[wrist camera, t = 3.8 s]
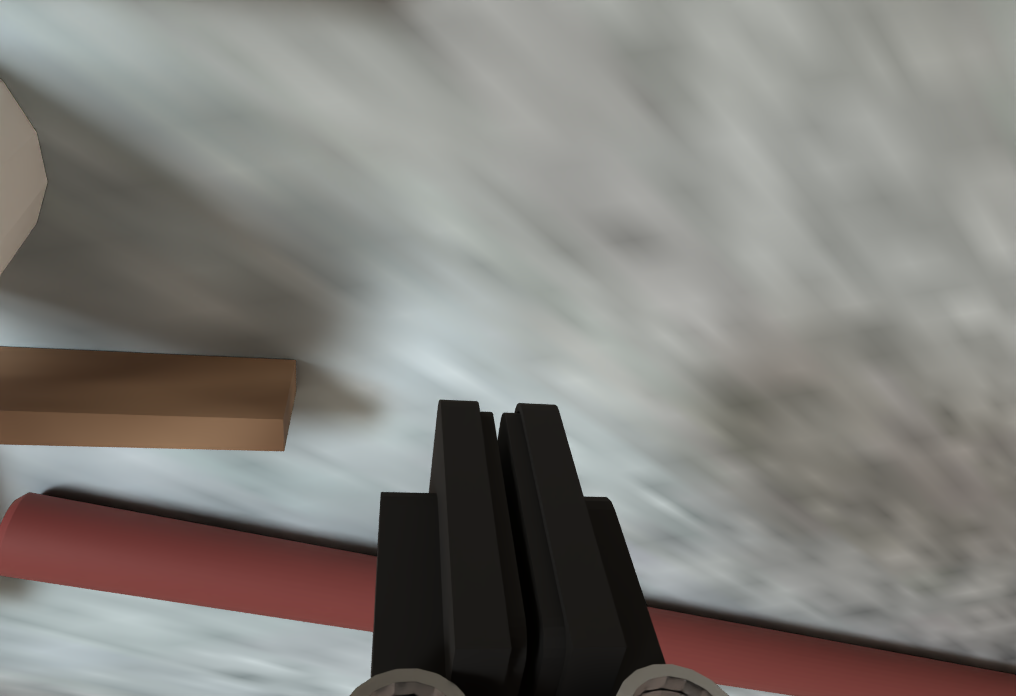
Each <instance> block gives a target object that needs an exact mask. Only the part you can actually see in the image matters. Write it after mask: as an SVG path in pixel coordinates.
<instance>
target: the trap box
mask: <svg viewBox="0 0 1016 696" xmlns="http://www.w3.org/2000/svg"><path fill="white" fill-rule="evenodd" d="M295 395H296V360H285V359H263V358H241V357H219V356H197V355H175V354H153V353H131V352H109V351H87V350H65V349H43V348H21V347H0V444H8V445H49V446H90V447H131V448H172V449H213V450H254V451H284V450H285V445H286V440H287V435H288V430H289V425H290V420H291V415H292V410H293V405H294V400H295Z"/></svg>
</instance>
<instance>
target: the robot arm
mask: <svg viewBox="0 0 1016 696" xmlns="http://www.w3.org/2000/svg"><path fill="white" fill-rule="evenodd" d="M350 696H729V695H728V694H727V693H726V692H724V691H723V690H722V689H721V688H720V687H719V686H718V685H716V684H715V683H714V682H713V681H712V680H710V679H709V678H707V677H705V676H703V675H701V674H699V673H697V672H696V671H694V670H692V669H688V668H684V667H681V666H677V665H673V664H666V663H665V660H664V657H663V654H662V650H661V647H660V644H659V641H658V638H657V635H656V632H655V629H654V626H653V623H652V620H651V617H650V614H649V611H648V608H647V605H646V602H645V599H644V596H643V593H642V590H641V587H640V584H639V581H638V578H637V575H636V572H635V569H634V566H633V563H632V560H631V557H630V554H629V551H628V548H627V545H626V542H625V539H624V536H623V533H622V530H621V527H620V524H619V521H618V518H617V515H616V512H615V509H614V507H613V505H612V502H611V501H610V500H609V499H608V498H607V497H584V496H583V493H582V489H581V486H580V482H579V479H578V475H577V472H576V468H575V465H574V461H573V458H572V454H571V451H570V448H569V444H568V441H567V437H566V434H565V430H564V427H563V423H562V420H561V416H560V413H559V410H558V407H557V406H556V405H549V404H527V403H518V404H517V406H516V409H515V413H503V414H502V417H501V422H500V428H499V434H498V440H497V435H496V429H495V423H494V417H493V413H492V412H480V408H479V403H478V402H477V401H458V400H439V404H438V411H437V420H436V430H435V439H434V449H433V458H432V468H431V477H430V487H429V493H400V492H381V499H380V515H379V532H378V549H377V567H376V586H375V605H374V625H373V644H372V664H371V678H370V679H369V680H367V681H366V682H364V683H363V684H361V685H360V686H358V687H357V688H356V689H355V690H354V691H353V692H352V694H351V695H350Z"/></svg>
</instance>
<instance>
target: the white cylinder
mask: <svg viewBox="0 0 1016 696" xmlns="http://www.w3.org/2000/svg"><path fill="white" fill-rule="evenodd" d="M46 186H47V177H46V172H45V168H44V163H43V159H42V154H41V150H40V145H39V141H38V136H37V132H36V131H35V129H34V128H33V126H32V125H31V123H30V122H29V120H28V119H27V117H26V116H25V114H24V112H23V111H22V109H21V108H20V106H19V105H18V103H17V102H16V100H15V99H14V97H13V96H12V94H11V92H10V91H9V89H8V88H7V86H6V85H5V83H4V82H3V81H2V80H1V79H0V275H1V274H2V272H3V271H4V270H5V268H6V267H7V265H8V264H9V262H10V261H11V259H12V258H13V257H14V255H15V254H16V252H17V251H18V249H19V248H20V246H21V245H22V244H23V242H24V241H25V239H26V238H27V236H28V235H29V234H30V232H31V231H32V229H33V228H34V226H35V225H36V223H37V220H38V217H39V213H40V209H41V205H42V201H43V198H44V194H45V190H46Z"/></svg>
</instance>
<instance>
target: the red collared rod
mask: <svg viewBox="0 0 1016 696" xmlns="http://www.w3.org/2000/svg"><path fill="white" fill-rule="evenodd" d="M376 567H377V556H371V555H366V554H360V553H355V552H350V551H344V550H339V549H333V548H328V547H323V546H317V545H312V544H306V543H301V542H295V541H290V540H285V539H279V538H274V537H268V536H263V535H258V534H252V533H247V532H241V531H236V530H231V529H225V528H220V527H214V526H209V525H204V524H198V523H193V522H187V521H182V520H177V519H171V518H166V517H160V516H155V515H150V514H144V513H139V512H133V511H128V510H122V509H117V508H112V507H106V506H101V505H95V504H90V503H85V502H79V501H74V500H68V499H63V498H58V497H52V496H47V495H41V494H36V493H31V492H29V493H27V494H25V495H23V496H22V497H20V498H18V499H16V500H15V501H14V502H13V503H12V504H11V506H10V507H9V509H8V510H7V512H6V514H5V516H4V518H3V520H2V522H1V524H0V576H7V577H13V578H20V579H26V580H33V581H40V582H46V583H53V584H59V585H66V586H73V587H79V588H86V589H92V590H99V591H106V592H112V593H119V594H125V595H132V596H139V597H145V598H152V599H158V600H165V601H172V602H178V603H185V604H191V605H198V606H205V607H211V608H218V609H224V610H231V611H238V612H244V613H251V614H257V615H264V616H271V617H277V618H284V619H290V620H297V621H304V622H310V623H317V624H323V625H330V626H337V627H343V628H350V629H357V630H363V631H370V632H373V625H374V605H375V586H376ZM647 608H648V611H649V614H650V617H651V620H652V623H653V626H654V629H655V632H656V635H657V638H658V641H659V644H660V647H661V650H662V654H663V657H664V660H665V663H666V664H673V665H677V666H681V667H684V668H688V669H692V670H694V671H696V672H697V673H699V674H701V675H703V676H705V677H707V678H709V679H710V680H712V681H713V682H714V683H715V684H720V685H726V686H733V687H740V688H746V689H753V690H759V691H766V692H773V693H779V694H786V695H792V696H1016V675H1015V674H1009V673H1004V672H998V671H993V670H988V669H982V668H977V667H971V666H966V665H960V664H955V663H950V662H944V661H939V660H933V659H928V658H923V657H917V656H912V655H906V654H901V653H896V652H890V651H885V650H879V649H874V648H869V647H863V646H858V645H852V644H847V643H842V642H836V641H831V640H825V639H820V638H815V637H809V636H804V635H798V634H793V633H787V632H782V631H777V630H771V629H766V628H760V627H755V626H750V625H744V624H739V623H733V622H728V621H723V620H717V619H712V618H706V617H701V616H696V615H690V614H685V613H679V612H674V611H669V610H663V609H658V608H652V607H647Z"/></svg>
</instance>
